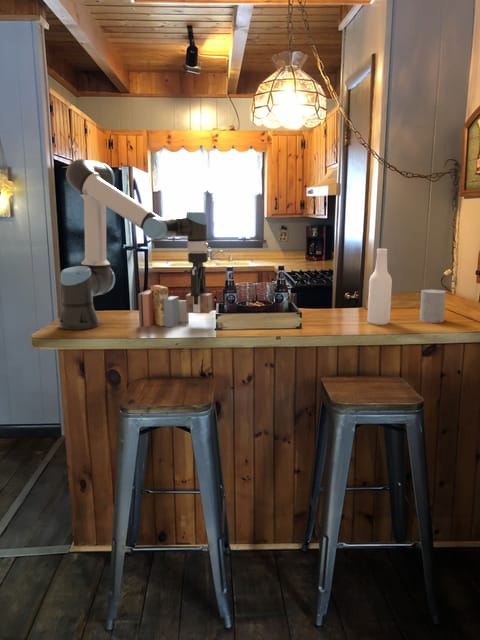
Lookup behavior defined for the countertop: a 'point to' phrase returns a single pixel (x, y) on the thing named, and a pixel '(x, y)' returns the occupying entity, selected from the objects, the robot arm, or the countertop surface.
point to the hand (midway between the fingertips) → (199, 310)
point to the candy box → (159, 303)
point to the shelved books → (169, 310)
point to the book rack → (182, 310)
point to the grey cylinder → (432, 305)
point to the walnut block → (204, 303)
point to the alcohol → (380, 291)
